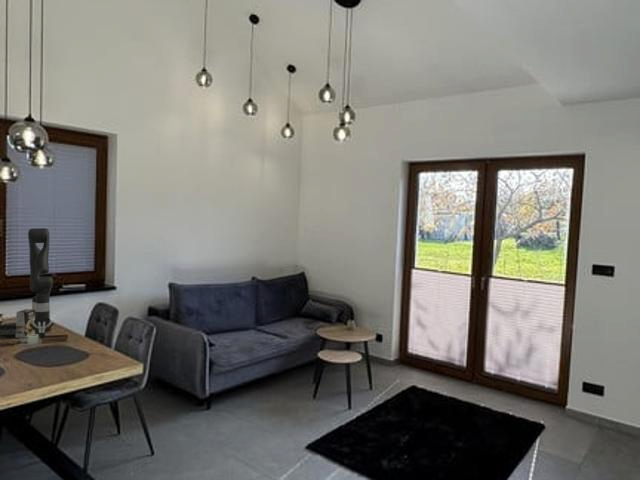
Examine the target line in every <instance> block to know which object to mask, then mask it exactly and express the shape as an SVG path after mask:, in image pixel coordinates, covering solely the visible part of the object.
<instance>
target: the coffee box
mask: <svg viewBox="0 0 640 480" xmlns="http://www.w3.org/2000/svg"><path fill="white" fill-rule="evenodd" d="M15 319H16V320H15V338H18V339H19V338H28V335H33V334H36V332H35V331H34V329H33V328H32V327H31V326H30V324H31V323H33V322H34V320H35V310H33V309H32V308H31V309H26V308H24V309H22V310H18V311H16V315H15Z"/></svg>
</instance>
